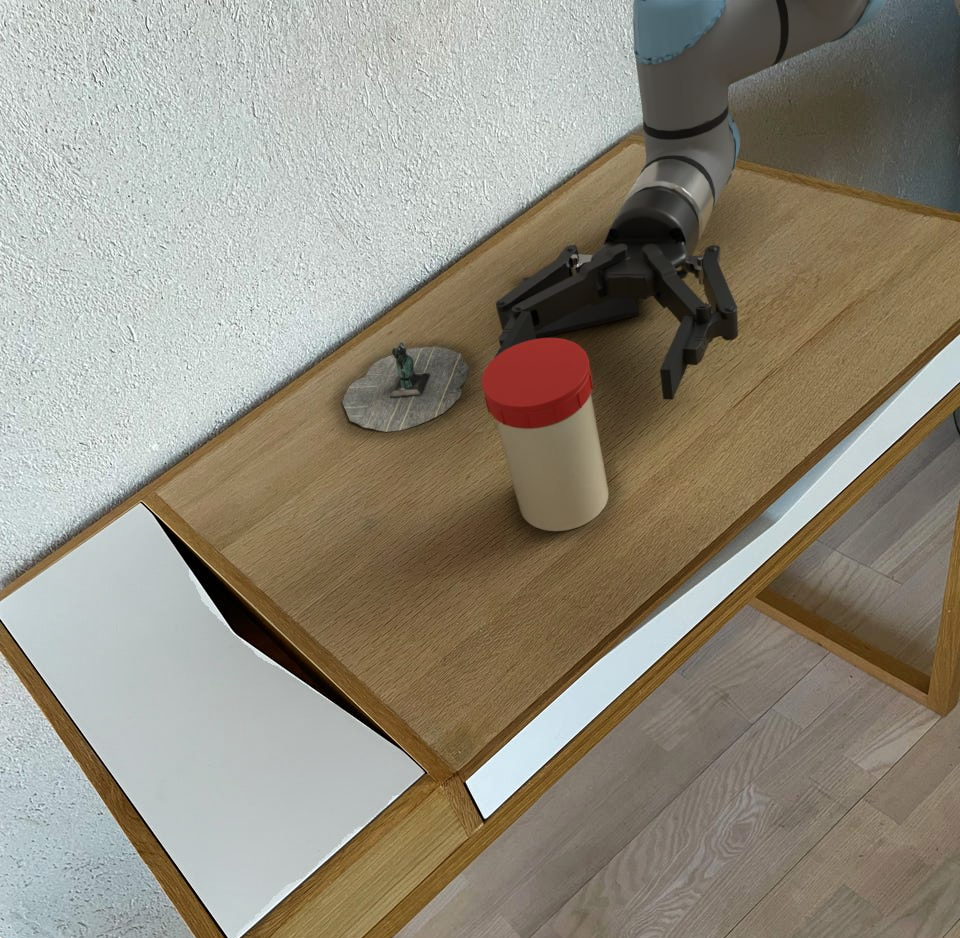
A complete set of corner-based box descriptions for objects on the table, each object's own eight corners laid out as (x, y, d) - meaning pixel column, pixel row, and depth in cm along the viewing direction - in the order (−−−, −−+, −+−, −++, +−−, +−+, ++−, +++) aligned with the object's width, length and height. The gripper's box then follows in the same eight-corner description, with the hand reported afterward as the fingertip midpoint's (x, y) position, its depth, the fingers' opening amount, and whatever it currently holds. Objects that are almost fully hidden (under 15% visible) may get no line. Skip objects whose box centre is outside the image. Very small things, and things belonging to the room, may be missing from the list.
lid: (586, 350, 68) (582, 327, 67) (598, 415, 63) (594, 392, 62) (485, 373, 69) (479, 351, 68) (489, 438, 65) (483, 416, 63)
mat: (623, 258, 93) (623, 254, 93) (638, 315, 87) (637, 310, 86) (523, 282, 95) (522, 278, 94) (530, 340, 88) (529, 335, 88)
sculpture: (448, 335, 93) (451, 304, 85) (480, 423, 93) (487, 400, 85) (331, 375, 92) (323, 347, 84) (364, 464, 92) (359, 445, 84)
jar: (602, 460, 76) (580, 337, 67) (614, 521, 71) (592, 398, 63) (517, 478, 77) (484, 359, 68) (522, 539, 72) (488, 420, 64)
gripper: (804, 266, 82) (745, 430, 71) (536, 264, 92) (449, 407, 81) (806, 181, 76) (742, 345, 65) (521, 189, 86) (425, 332, 75)
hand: (580, 379), depth 73 cm, fingers open, 13 cm apart
